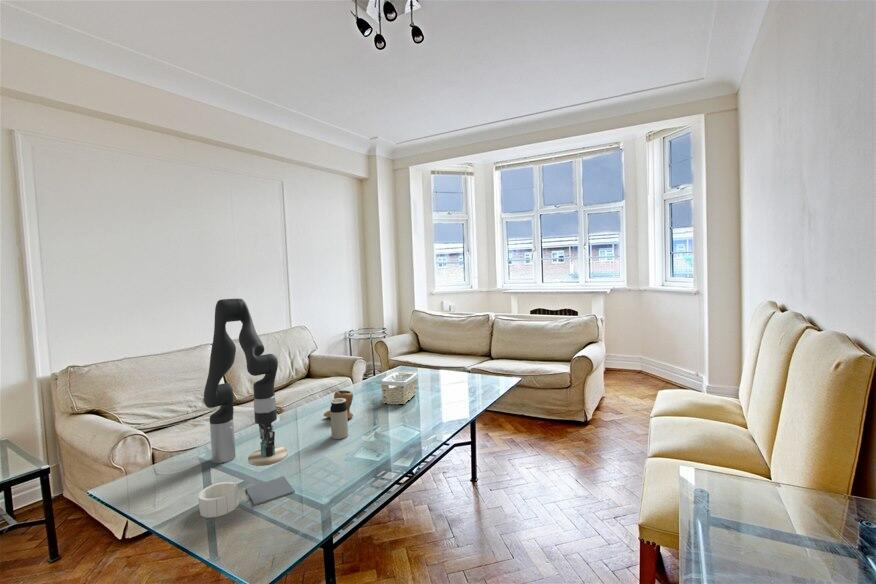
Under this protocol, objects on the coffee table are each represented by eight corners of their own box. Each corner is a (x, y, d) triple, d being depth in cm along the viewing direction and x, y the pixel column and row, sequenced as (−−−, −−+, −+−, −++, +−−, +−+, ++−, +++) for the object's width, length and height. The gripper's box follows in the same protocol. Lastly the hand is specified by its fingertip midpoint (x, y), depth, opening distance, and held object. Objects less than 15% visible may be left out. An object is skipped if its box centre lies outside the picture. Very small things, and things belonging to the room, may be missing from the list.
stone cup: (358, 415, 236) (357, 389, 235) (344, 423, 225) (342, 395, 224) (337, 412, 243) (336, 386, 242) (323, 419, 233) (321, 392, 232)
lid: (244, 456, 159) (243, 441, 158) (281, 446, 166) (280, 432, 166) (252, 469, 148) (251, 453, 147) (292, 458, 155) (291, 443, 155)
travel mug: (344, 439, 203) (342, 403, 202) (328, 439, 204) (327, 402, 203) (350, 433, 211) (349, 398, 210) (335, 432, 212) (334, 397, 211)
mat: (246, 489, 159) (245, 488, 159) (283, 477, 167) (283, 476, 167) (254, 505, 148) (254, 504, 148) (294, 492, 156) (294, 490, 156)
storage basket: (396, 393, 277) (395, 370, 276) (419, 394, 272) (418, 371, 271) (380, 404, 254) (379, 380, 253) (405, 406, 249) (404, 382, 248)
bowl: (197, 505, 149) (196, 489, 149) (234, 494, 156) (233, 478, 156) (202, 521, 139) (201, 504, 139) (241, 508, 146) (240, 491, 146)
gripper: (250, 406, 160) (252, 450, 160) (259, 416, 148) (262, 463, 149) (270, 401, 164) (273, 445, 165) (281, 411, 152) (283, 457, 153)
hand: (268, 453), depth 157 cm, fingers closed on lid, 4 cm apart
